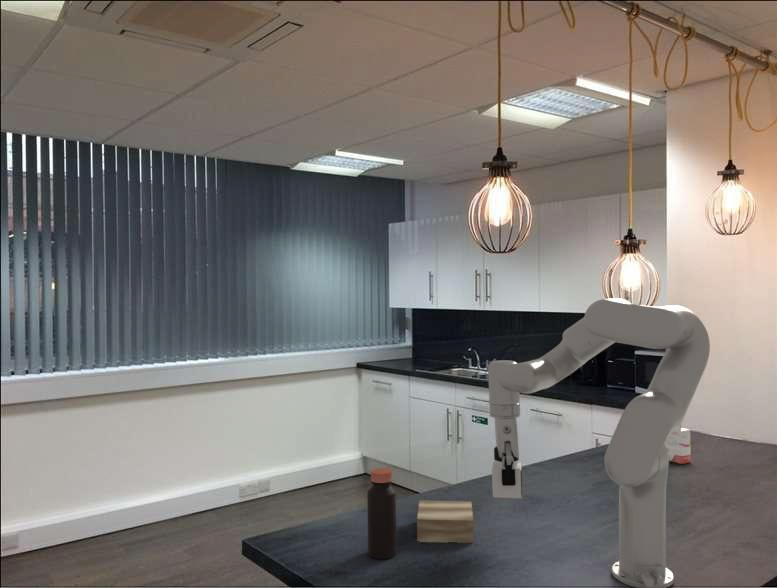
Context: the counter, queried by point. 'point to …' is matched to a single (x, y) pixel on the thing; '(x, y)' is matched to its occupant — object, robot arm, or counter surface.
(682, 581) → the counter surface
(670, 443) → the ink cartridge box
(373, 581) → the counter surface
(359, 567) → the counter surface
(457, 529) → the birch block
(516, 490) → the medicine bottle
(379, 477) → the vinegar
